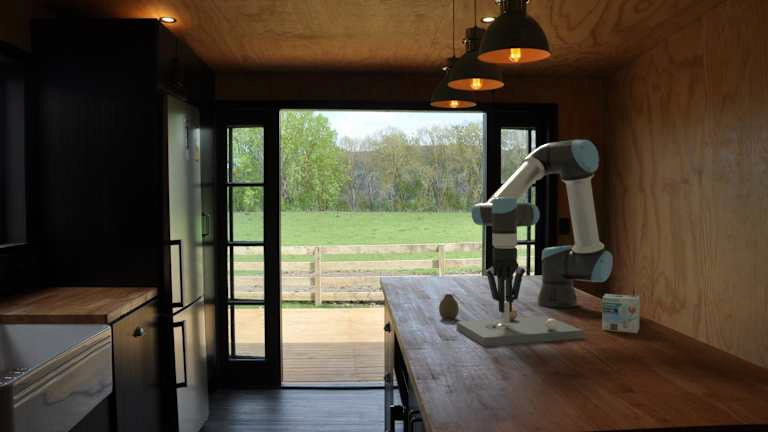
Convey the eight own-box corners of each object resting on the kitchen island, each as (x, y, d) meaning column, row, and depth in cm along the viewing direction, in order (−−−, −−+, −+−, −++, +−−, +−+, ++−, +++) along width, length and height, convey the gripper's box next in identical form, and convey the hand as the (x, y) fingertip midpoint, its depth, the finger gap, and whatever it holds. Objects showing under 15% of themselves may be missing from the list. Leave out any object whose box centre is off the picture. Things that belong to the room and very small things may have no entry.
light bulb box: (601, 330, 182) (601, 296, 182) (604, 326, 188) (604, 293, 188) (638, 333, 177) (638, 298, 177) (639, 329, 183) (639, 295, 183)
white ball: (553, 328, 174) (553, 317, 174) (559, 331, 171) (559, 319, 170) (543, 329, 173) (543, 318, 173) (549, 332, 170) (549, 320, 170)
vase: (452, 322, 197) (452, 296, 197) (435, 319, 201) (435, 295, 201) (462, 318, 203) (462, 294, 202) (445, 316, 207) (445, 292, 207)
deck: (546, 323, 193) (546, 315, 193) (582, 338, 172) (582, 330, 172) (456, 329, 186) (456, 321, 186) (483, 346, 164) (483, 337, 164)
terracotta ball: (513, 318, 190) (513, 306, 190) (519, 320, 186) (519, 308, 186) (502, 319, 189) (502, 307, 189) (508, 321, 185) (508, 309, 185)
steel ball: (503, 322, 179) (493, 322, 178) (508, 325, 176) (498, 325, 175) (503, 333, 179) (492, 333, 179) (508, 336, 176) (497, 336, 175)
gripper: (518, 245, 182) (519, 318, 183) (480, 246, 179) (481, 321, 180) (529, 247, 175) (530, 323, 175) (490, 248, 172) (490, 326, 173)
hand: (505, 322), depth 178 cm, fingers closed
